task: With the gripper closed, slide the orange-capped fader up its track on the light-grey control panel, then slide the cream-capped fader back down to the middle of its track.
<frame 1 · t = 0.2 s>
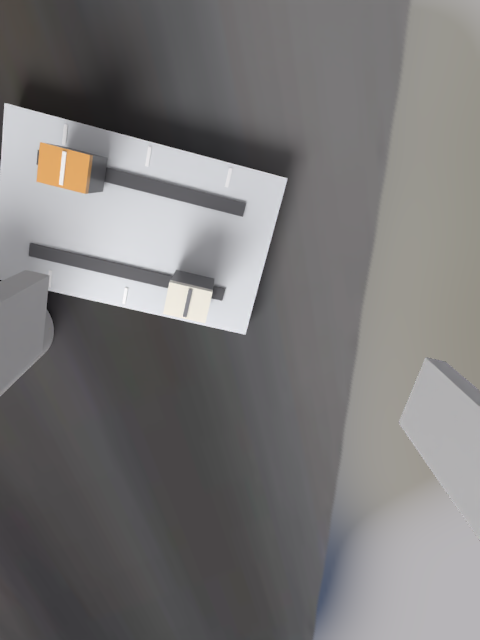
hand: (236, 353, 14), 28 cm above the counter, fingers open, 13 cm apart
panel: (141, 226, 40), on the counter
fader orange: (73, 168, 33), point 5 cm above the counter, slide at -5.0 cm
cup: (14, 325, 43), on the counter
fader cream: (190, 295, 37), point 5 cm above the counter, slide at 6.0 cm
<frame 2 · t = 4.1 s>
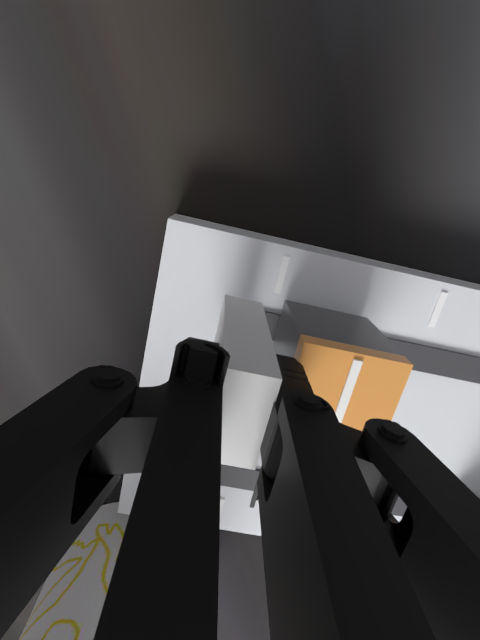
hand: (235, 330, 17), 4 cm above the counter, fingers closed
panel: (372, 405, 22), on the counter
fader orange: (329, 362, 16), point 5 cm above the counter, slide at -4.9 cm, touching gripper
cup: (132, 552, 26), on the counter
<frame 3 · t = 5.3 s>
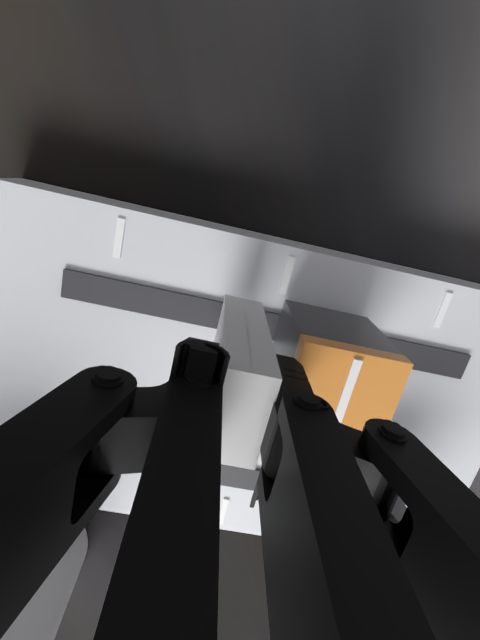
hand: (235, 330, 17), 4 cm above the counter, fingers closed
panel: (249, 381, 22), on the counter
fader orange: (329, 362, 16), point 5 cm above the counter, slide at 1.9 cm, touching gripper
cup: (19, 535, 25), on the counter
fader cream: (365, 541, 19), point 5 cm above the counter, slide at 6.0 cm
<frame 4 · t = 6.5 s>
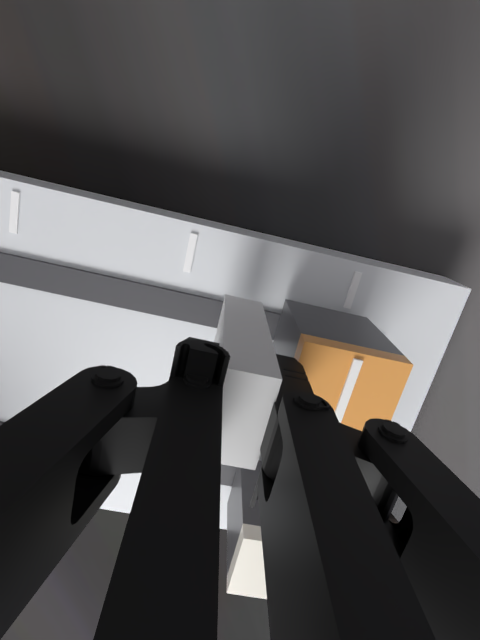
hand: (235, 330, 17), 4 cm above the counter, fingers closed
panel: (170, 364, 21), on the counter
fader orange: (329, 362, 16), point 5 cm above the counter, slide at 6.0 cm, touching gripper
fader cream: (274, 526, 18), point 5 cm above the counter, slide at 6.0 cm
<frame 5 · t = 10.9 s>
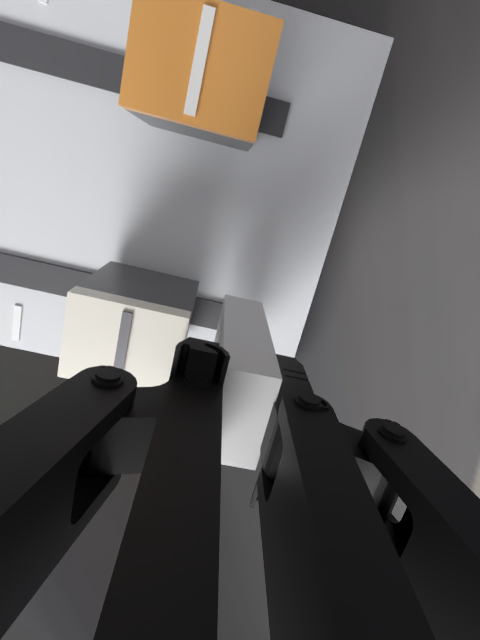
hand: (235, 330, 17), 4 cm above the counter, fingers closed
panel: (54, 171, 18), on the counter
fader orange: (204, 83, 13), point 5 cm above the counter, slide at 6.1 cm
fader cream: (137, 323, 15), point 5 cm above the counter, slide at 5.4 cm, touching gripper
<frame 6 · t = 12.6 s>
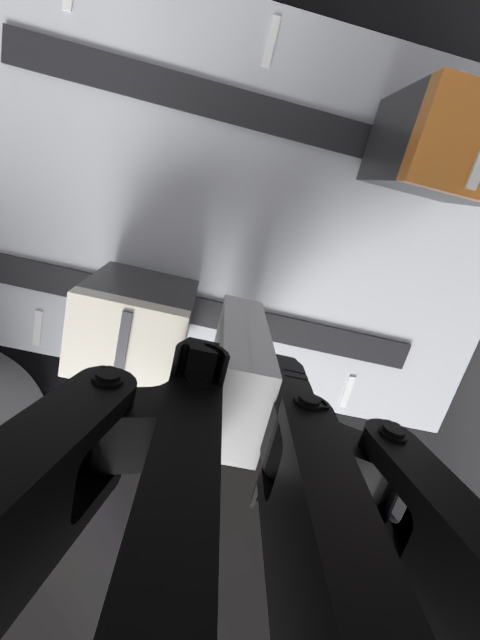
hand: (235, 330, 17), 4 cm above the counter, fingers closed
panel: (230, 214, 19), on the counter
fader orange: (444, 149, 13), point 5 cm above the counter, slide at 6.1 cm
fader cream: (137, 322, 15), point 5 cm above the counter, slide at -2.5 cm, touching gripper
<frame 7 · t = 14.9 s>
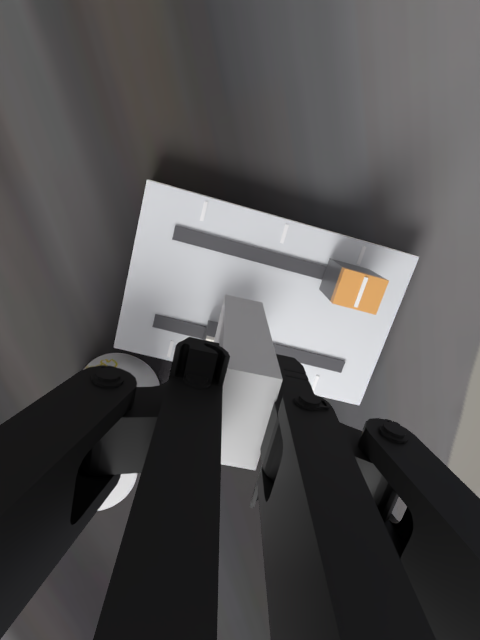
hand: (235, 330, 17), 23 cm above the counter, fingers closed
panel: (261, 296, 39), on the counter
fader orange: (351, 285, 34), point 5 cm above the counter, slide at 6.1 cm
cup: (120, 389, 42), on the counter
fader cream: (224, 349, 35), point 5 cm above the counter, slide at -2.6 cm
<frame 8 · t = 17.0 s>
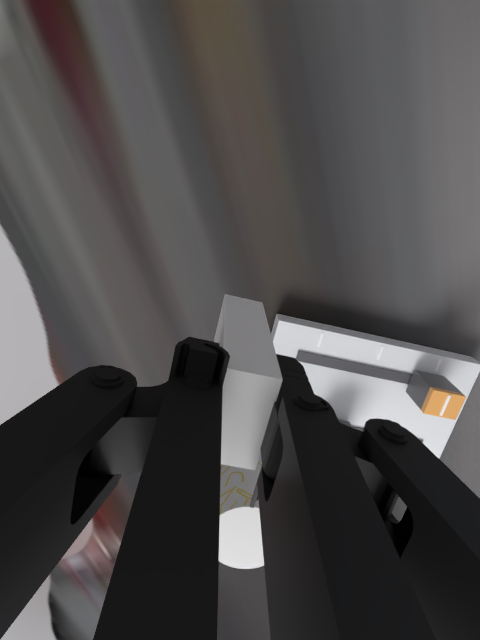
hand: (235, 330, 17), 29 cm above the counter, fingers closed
panel: (355, 391, 51), on the counter
fader orange: (434, 394, 45), point 5 cm above the counter, slide at 6.1 cm
cup: (242, 461, 54), on the counter
fader cream: (336, 441, 47), point 5 cm above the counter, slide at -2.6 cm
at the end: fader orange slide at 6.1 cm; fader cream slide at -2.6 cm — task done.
